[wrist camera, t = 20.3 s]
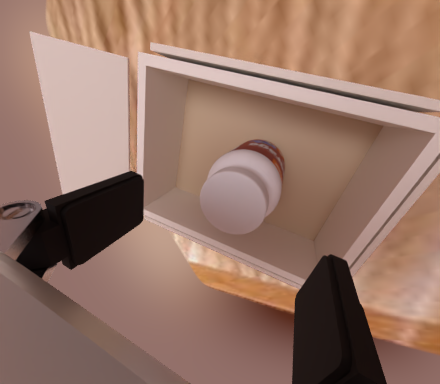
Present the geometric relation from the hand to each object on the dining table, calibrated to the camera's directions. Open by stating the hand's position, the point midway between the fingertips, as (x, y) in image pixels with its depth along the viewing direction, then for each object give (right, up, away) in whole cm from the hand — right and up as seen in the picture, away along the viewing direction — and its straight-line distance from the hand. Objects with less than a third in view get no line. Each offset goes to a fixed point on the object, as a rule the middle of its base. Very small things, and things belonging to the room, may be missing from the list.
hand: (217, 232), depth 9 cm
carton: (+4, +6, +13) cm, 15 cm away
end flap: (-9, +6, +9) cm, 14 cm away
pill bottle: (+5, +5, +13) cm, 15 cm away
